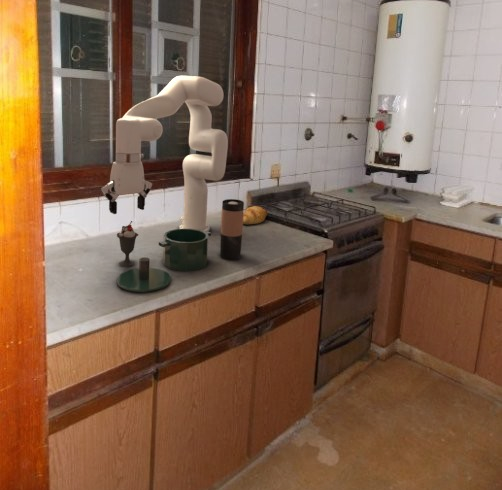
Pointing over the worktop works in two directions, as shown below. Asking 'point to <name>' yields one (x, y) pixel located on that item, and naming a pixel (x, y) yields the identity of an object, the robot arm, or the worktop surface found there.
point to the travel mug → (231, 229)
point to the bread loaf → (254, 215)
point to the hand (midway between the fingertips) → (127, 211)
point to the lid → (143, 278)
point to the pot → (185, 249)
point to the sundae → (127, 243)
